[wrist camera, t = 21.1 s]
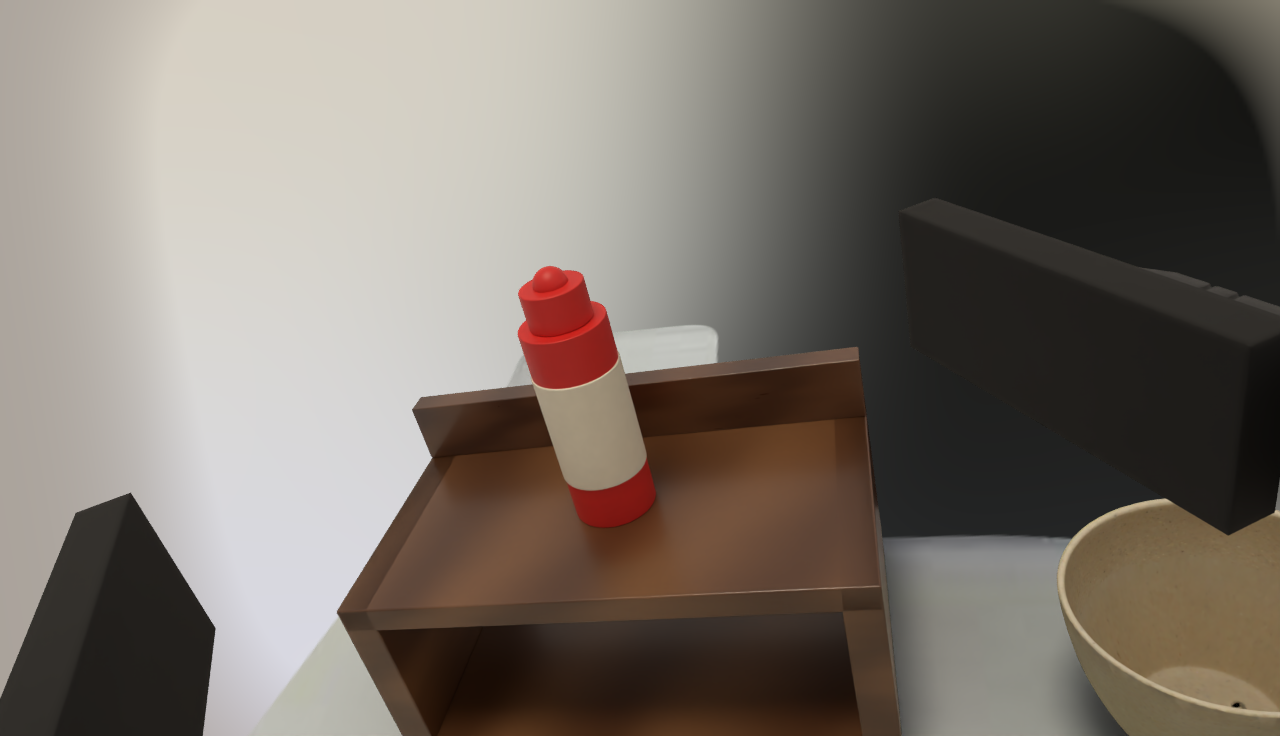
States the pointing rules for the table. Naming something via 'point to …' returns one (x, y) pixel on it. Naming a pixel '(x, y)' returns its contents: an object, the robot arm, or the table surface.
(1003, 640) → the table surface
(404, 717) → the shelf
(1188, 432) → the robot arm
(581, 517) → the red cream bottle
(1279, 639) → the beige bowl
